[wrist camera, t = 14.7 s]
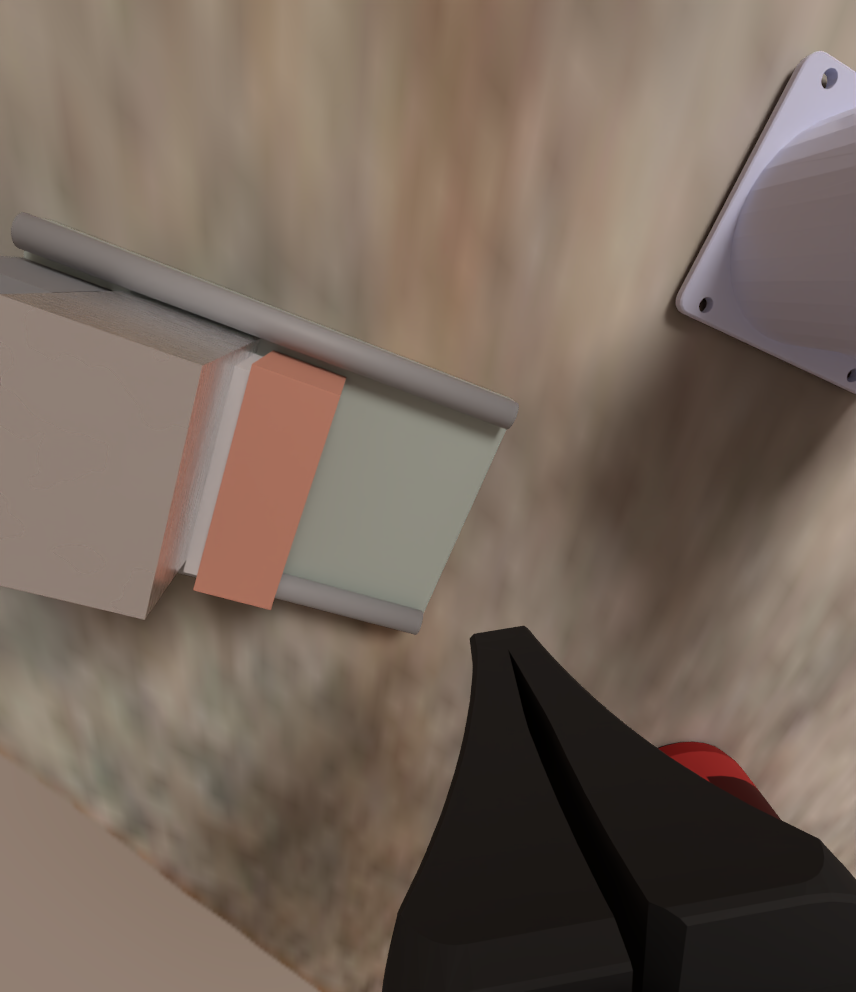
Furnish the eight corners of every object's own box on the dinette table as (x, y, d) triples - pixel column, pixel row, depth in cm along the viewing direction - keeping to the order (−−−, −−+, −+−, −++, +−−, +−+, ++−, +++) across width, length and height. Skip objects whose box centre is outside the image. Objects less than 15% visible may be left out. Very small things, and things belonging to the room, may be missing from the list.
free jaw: (346, 377, 17) (340, 395, 14) (285, 562, 20) (270, 610, 17) (258, 344, 17) (233, 357, 14) (206, 541, 19) (177, 585, 16)
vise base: (512, 395, 19) (546, 424, 15) (416, 611, 22) (424, 679, 19) (-172, 130, 14) (-373, 73, 10) (-165, 454, 18) (-316, 502, 14)
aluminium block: (260, 338, 17) (202, 365, 11) (212, 521, 19) (145, 620, 13) (131, 290, 16) (-2, 294, 10) (97, 488, 18) (-26, 579, 13)
